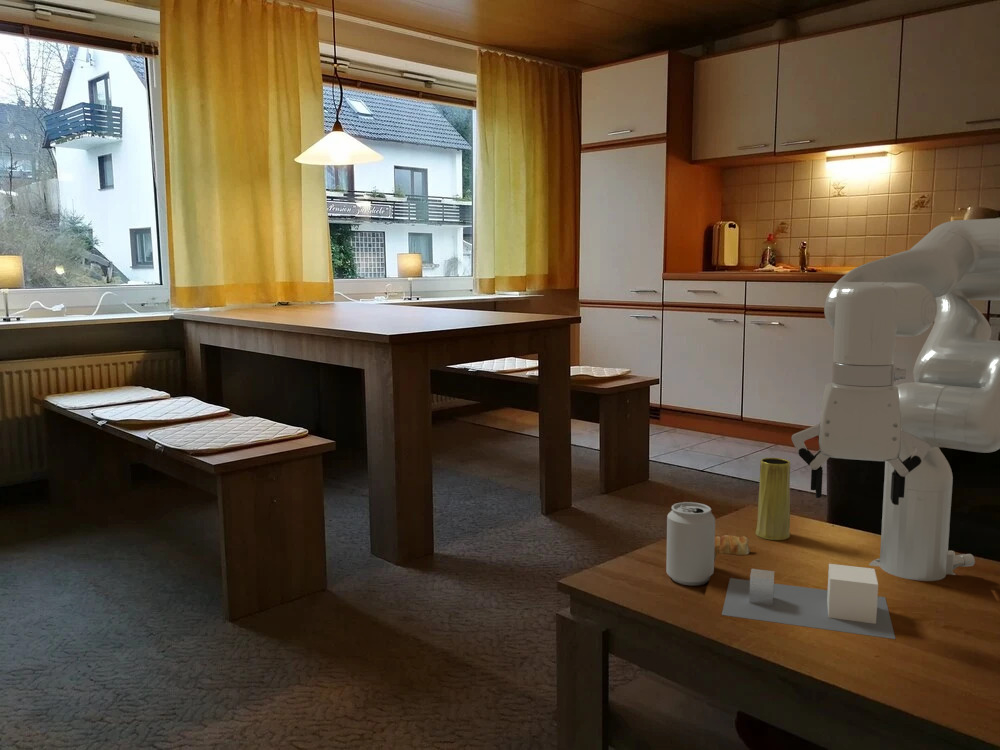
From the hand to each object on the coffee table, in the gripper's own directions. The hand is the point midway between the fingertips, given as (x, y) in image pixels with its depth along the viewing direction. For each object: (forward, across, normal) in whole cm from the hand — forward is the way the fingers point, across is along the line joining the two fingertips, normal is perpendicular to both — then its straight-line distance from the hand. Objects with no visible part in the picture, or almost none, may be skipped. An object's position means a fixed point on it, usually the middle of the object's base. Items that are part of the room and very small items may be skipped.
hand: (855, 498), depth 109 cm
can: (+18, +23, -9) cm, 31 cm away
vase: (+18, +11, -35) cm, 41 cm away
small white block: (+16, +12, 0) cm, 20 cm away
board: (+18, +6, 0) cm, 19 cm away
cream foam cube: (+16, 0, 0) cm, 17 cm away
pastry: (+18, +19, -21) cm, 34 cm away
